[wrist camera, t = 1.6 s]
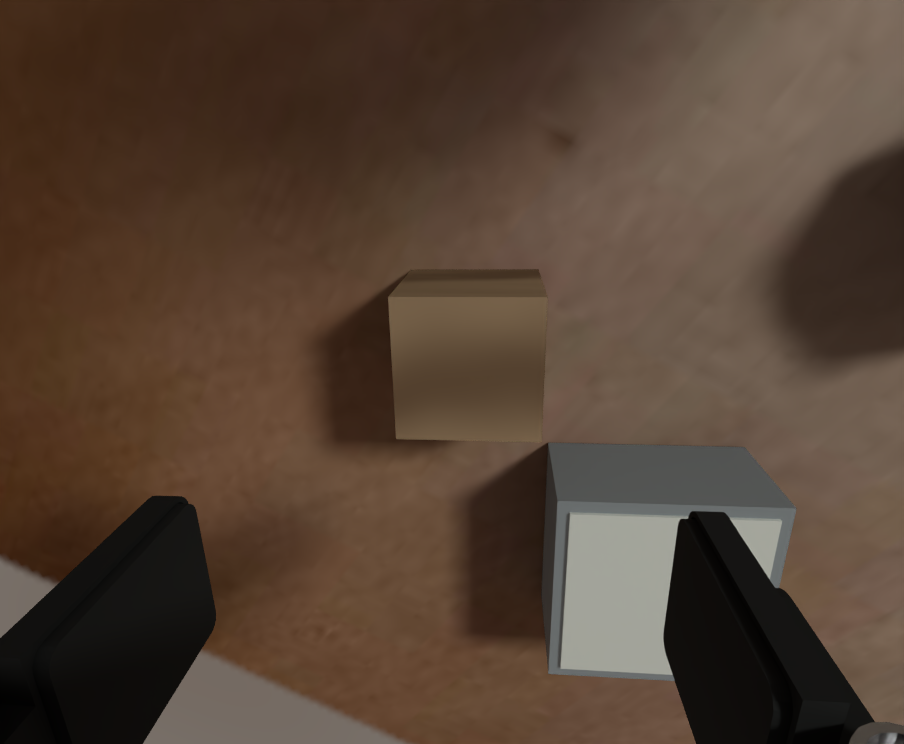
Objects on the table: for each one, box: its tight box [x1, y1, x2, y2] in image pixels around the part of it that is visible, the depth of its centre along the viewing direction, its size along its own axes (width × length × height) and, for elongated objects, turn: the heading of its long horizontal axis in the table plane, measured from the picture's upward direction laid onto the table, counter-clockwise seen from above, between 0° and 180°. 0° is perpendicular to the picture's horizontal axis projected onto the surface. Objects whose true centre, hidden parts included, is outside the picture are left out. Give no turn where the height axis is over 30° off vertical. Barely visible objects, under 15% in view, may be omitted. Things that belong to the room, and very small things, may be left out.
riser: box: [541, 443, 796, 681], centre depth 26 cm, size 9×9×5 cm
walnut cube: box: [388, 269, 548, 442], centre depth 23 cm, size 6×6×6 cm
